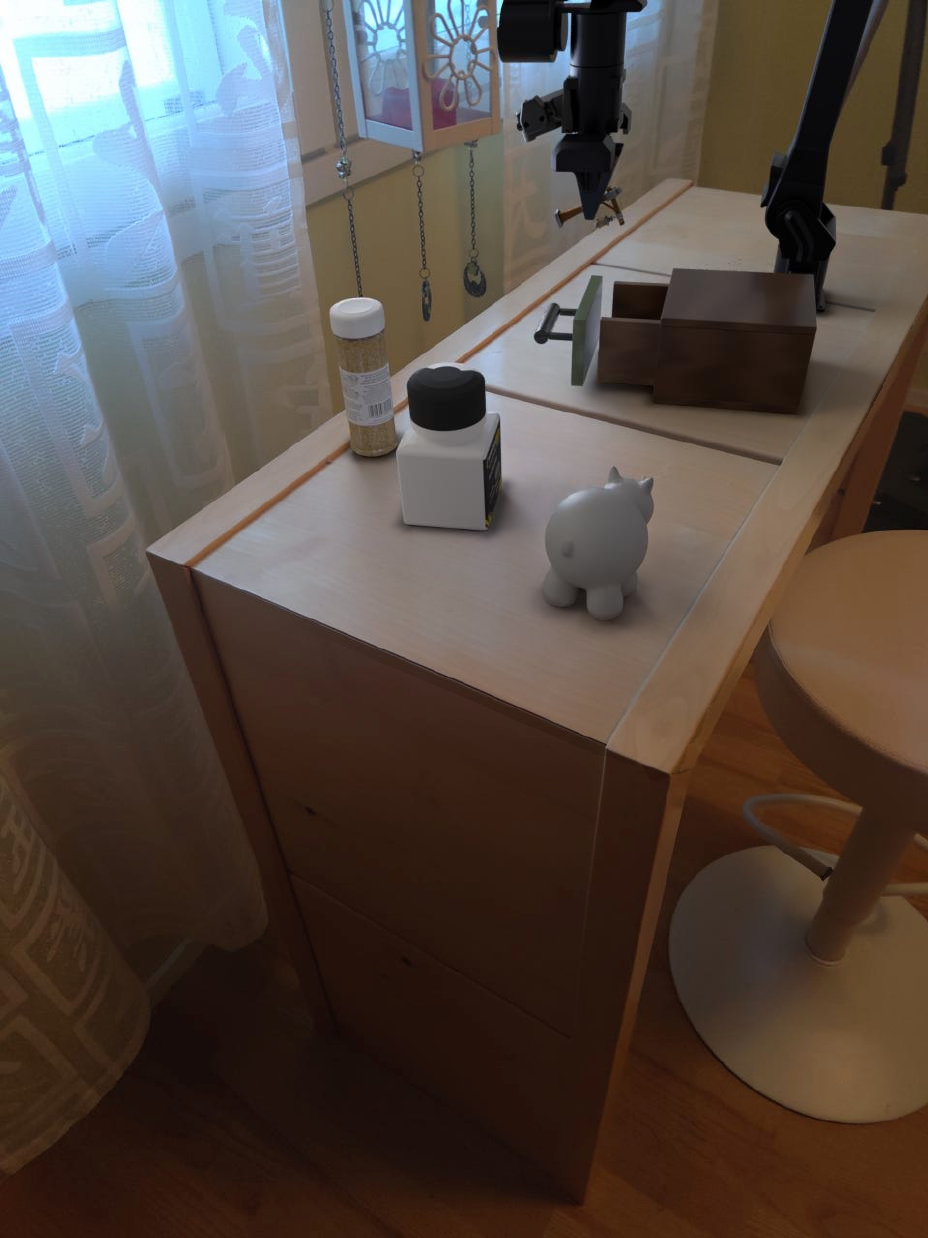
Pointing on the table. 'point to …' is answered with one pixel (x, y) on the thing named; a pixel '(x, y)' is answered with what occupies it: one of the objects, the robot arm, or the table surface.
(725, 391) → the cabinet
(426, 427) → the medicine bottle
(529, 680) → the table surface
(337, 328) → the sprinkles bottle
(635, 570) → the chubby cartoon animal
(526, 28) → the robot arm
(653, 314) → the drawer
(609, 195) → the wooden post with brackets
